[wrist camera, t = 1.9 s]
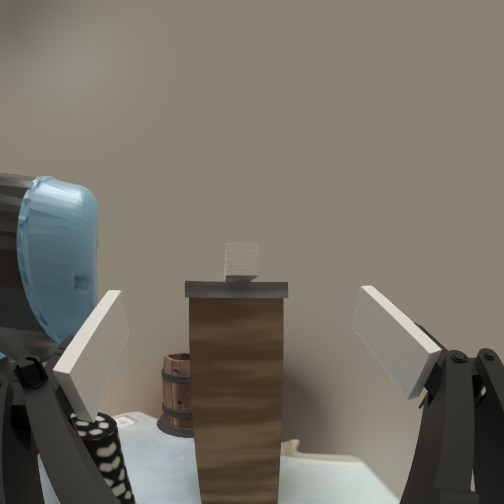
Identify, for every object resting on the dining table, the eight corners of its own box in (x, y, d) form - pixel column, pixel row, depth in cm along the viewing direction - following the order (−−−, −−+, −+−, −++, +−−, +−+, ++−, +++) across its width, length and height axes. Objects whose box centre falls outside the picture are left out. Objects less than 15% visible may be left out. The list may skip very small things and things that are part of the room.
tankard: (151, 414, 64) (146, 350, 68) (205, 409, 72) (203, 349, 76) (172, 454, 44) (164, 372, 48) (241, 442, 53) (240, 366, 56)
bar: (259, 275, 25) (259, 243, 26) (226, 275, 25) (226, 242, 25) (238, 289, 56) (238, 274, 57) (223, 288, 56) (223, 274, 57)
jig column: (280, 504, 28) (287, 282, 35) (198, 507, 27) (185, 281, 33) (268, 467, 41) (270, 286, 48) (202, 468, 40) (195, 286, 46)
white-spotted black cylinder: (91, 545, 12) (40, 434, 15) (91, 511, 19) (57, 406, 23) (150, 549, 15) (116, 443, 19) (142, 514, 23) (118, 412, 26)
